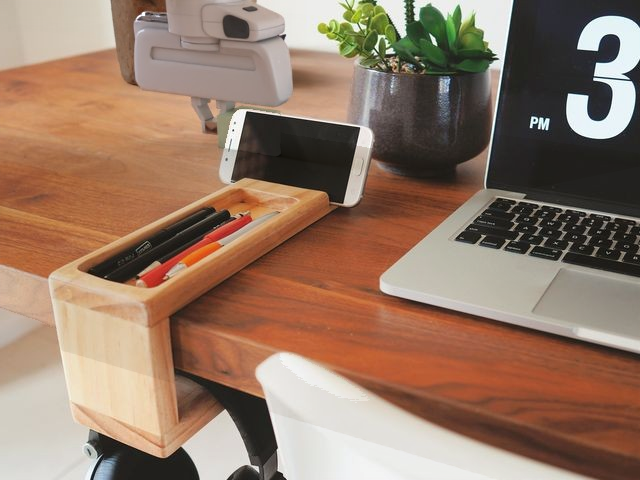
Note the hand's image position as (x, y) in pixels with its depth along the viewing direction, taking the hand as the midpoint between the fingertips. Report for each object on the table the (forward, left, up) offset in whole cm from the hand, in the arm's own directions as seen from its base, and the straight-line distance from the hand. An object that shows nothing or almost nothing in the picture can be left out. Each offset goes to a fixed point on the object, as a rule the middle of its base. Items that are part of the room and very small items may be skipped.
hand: (215, 133), depth 89 cm
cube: (+5, 0, -2) cm, 6 cm away
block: (-32, +28, -2) cm, 42 cm away
